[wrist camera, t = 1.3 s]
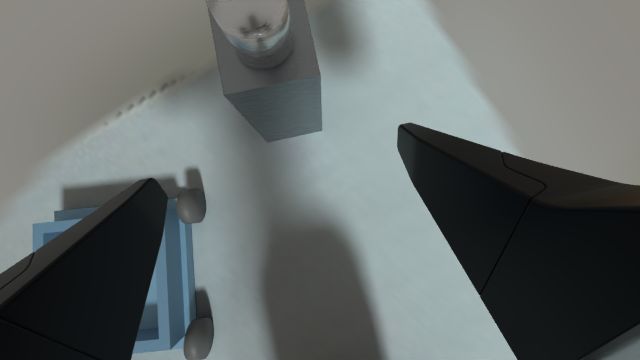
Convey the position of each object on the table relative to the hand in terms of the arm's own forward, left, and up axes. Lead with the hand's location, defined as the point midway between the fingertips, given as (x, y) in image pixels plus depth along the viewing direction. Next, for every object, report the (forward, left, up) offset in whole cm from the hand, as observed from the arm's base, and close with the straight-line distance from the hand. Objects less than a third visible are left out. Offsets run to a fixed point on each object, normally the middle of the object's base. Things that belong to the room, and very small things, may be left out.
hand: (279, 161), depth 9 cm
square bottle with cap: (+7, +1, -13) cm, 15 cm away
